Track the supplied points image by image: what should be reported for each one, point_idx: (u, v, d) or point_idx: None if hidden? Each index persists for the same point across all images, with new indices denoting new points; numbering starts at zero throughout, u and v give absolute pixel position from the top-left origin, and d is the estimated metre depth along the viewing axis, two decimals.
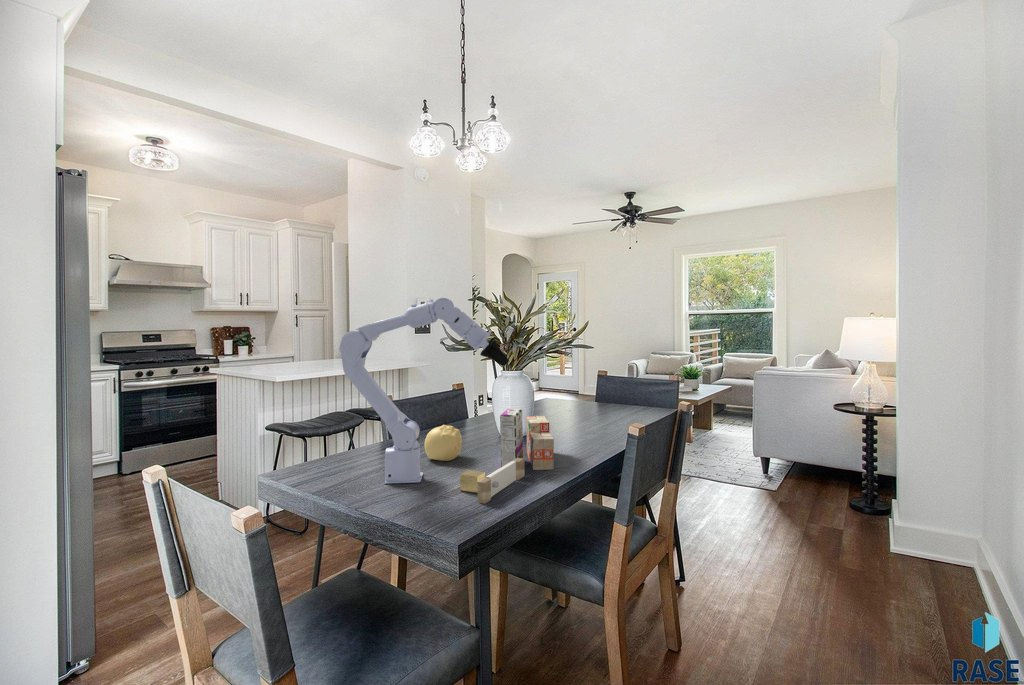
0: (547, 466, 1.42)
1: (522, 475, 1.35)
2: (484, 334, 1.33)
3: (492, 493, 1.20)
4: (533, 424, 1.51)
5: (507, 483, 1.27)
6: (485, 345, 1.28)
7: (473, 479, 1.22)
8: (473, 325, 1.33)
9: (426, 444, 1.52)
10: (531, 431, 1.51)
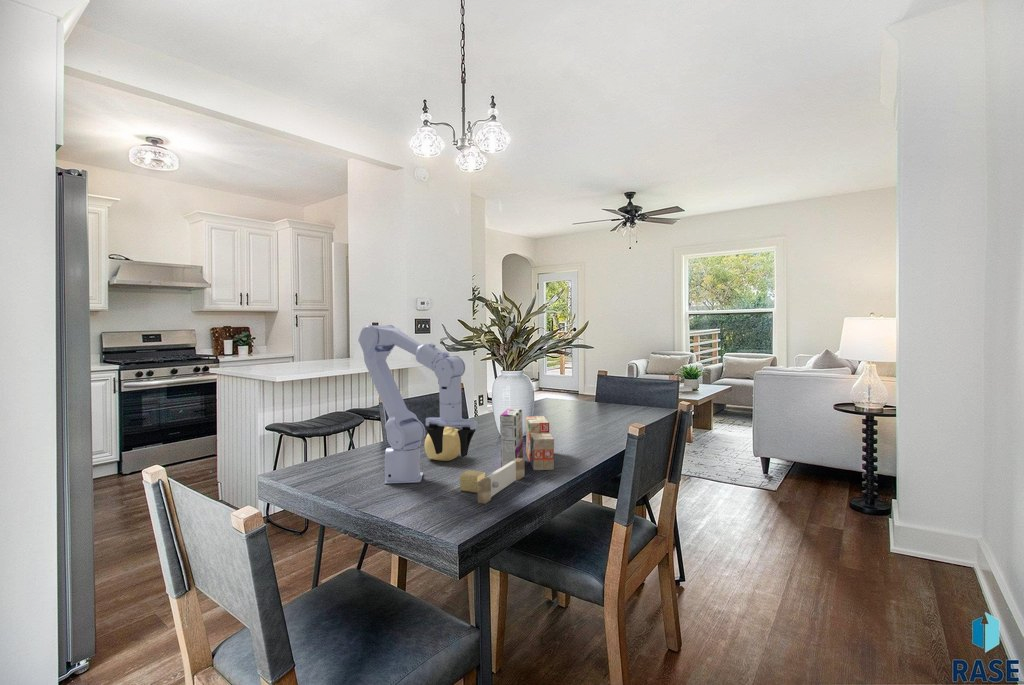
0: (547, 466, 1.42)
1: (522, 475, 1.35)
2: (440, 418, 1.26)
3: (492, 493, 1.20)
4: (533, 424, 1.50)
5: (507, 483, 1.27)
6: None
7: (473, 479, 1.22)
8: None
9: (426, 444, 1.52)
10: (531, 431, 1.50)
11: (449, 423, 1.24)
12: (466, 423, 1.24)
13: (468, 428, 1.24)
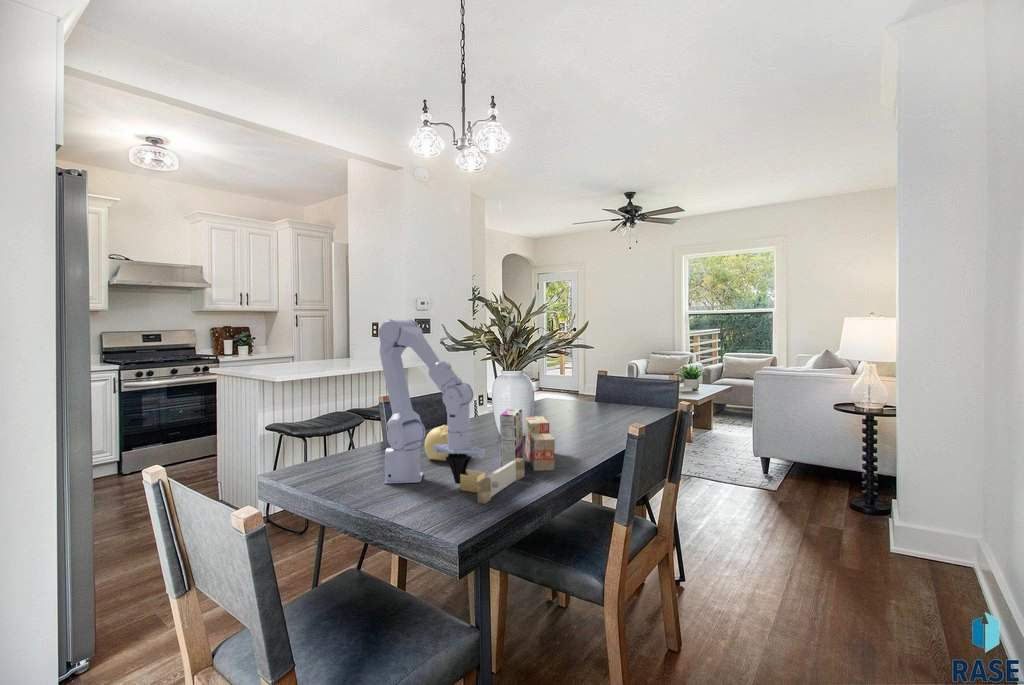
0: (548, 466, 1.42)
1: (522, 475, 1.35)
2: (448, 446, 1.25)
3: (492, 493, 1.20)
4: (533, 424, 1.50)
5: (507, 483, 1.27)
6: None
7: (473, 479, 1.22)
8: None
9: (426, 444, 1.52)
10: (531, 432, 1.50)
11: (457, 452, 1.23)
12: (474, 452, 1.23)
13: None
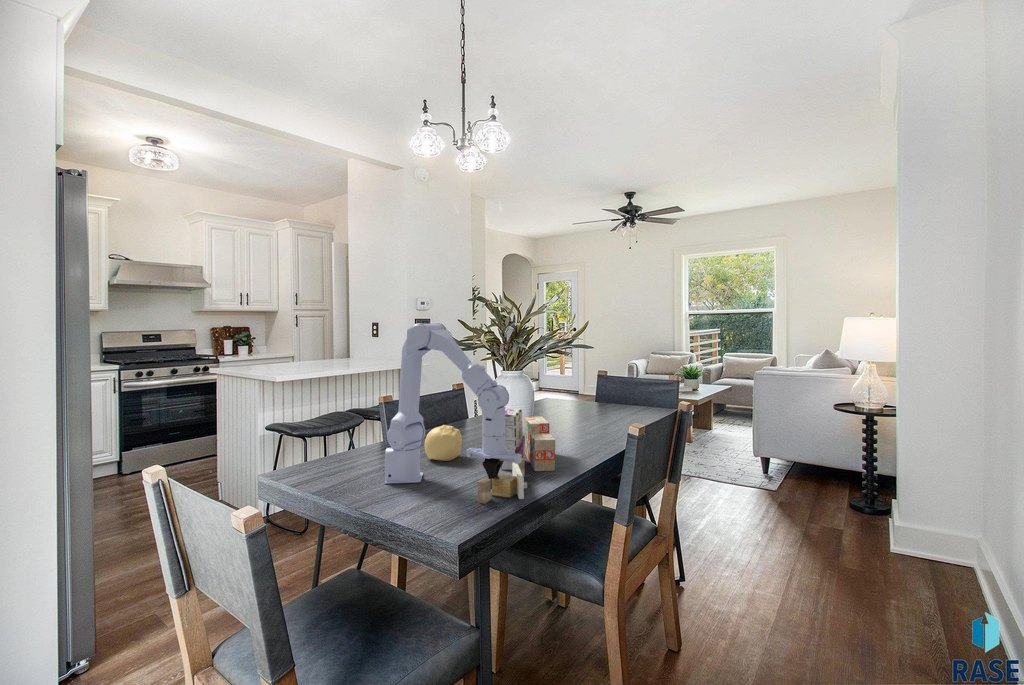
0: (549, 467, 1.41)
1: None
2: (482, 450, 1.21)
3: None
4: (533, 425, 1.49)
5: None
6: None
7: (506, 484, 1.19)
8: (482, 435, 1.21)
9: (426, 444, 1.52)
10: (531, 432, 1.49)
11: (493, 456, 1.19)
12: (510, 457, 1.19)
13: None
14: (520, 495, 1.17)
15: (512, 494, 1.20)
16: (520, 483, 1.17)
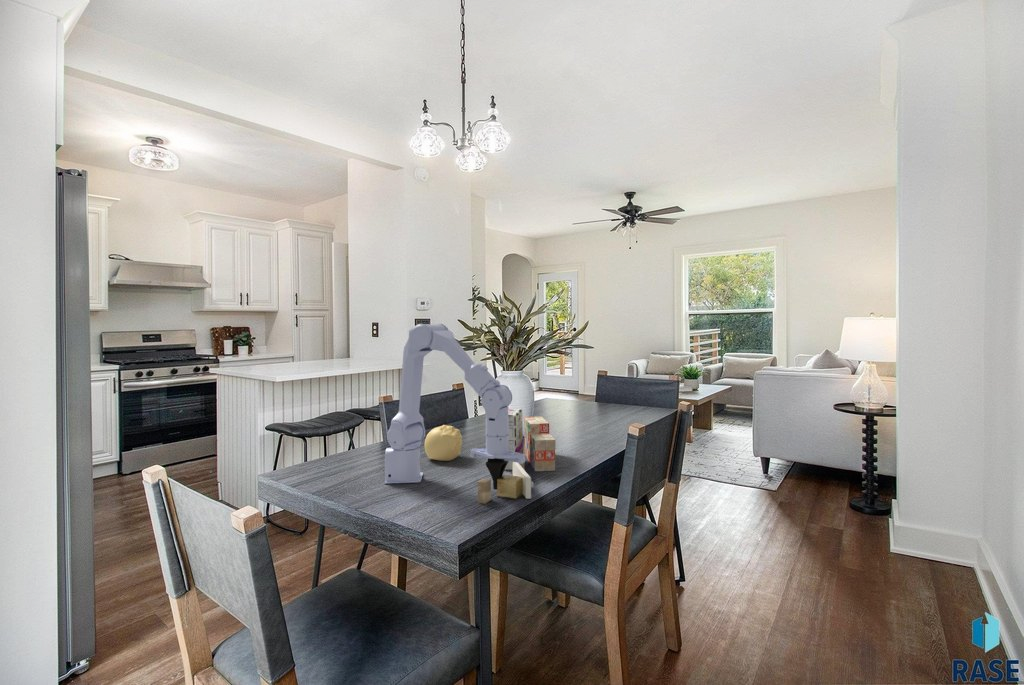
0: (549, 467, 1.41)
1: None
2: (486, 451, 1.21)
3: None
4: (533, 425, 1.49)
5: None
6: None
7: (511, 484, 1.18)
8: (486, 435, 1.21)
9: (426, 444, 1.52)
10: (531, 432, 1.49)
11: (496, 456, 1.19)
12: (514, 457, 1.18)
13: None
14: (527, 495, 1.18)
15: (518, 495, 1.19)
16: (527, 483, 1.17)
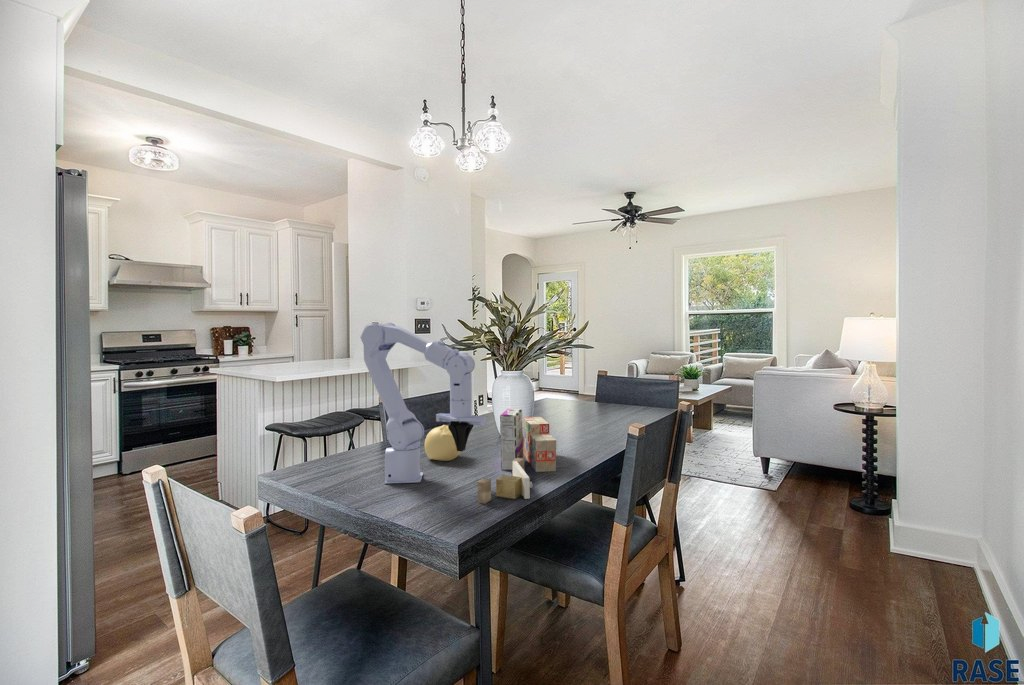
0: (550, 468, 1.40)
1: None
2: (450, 414, 1.28)
3: None
4: (533, 425, 1.49)
5: None
6: None
7: (511, 485, 1.18)
8: (450, 400, 1.28)
9: (426, 444, 1.52)
10: (531, 433, 1.48)
11: (459, 419, 1.26)
12: (476, 420, 1.26)
13: None
14: (526, 495, 1.17)
15: (517, 495, 1.19)
16: (526, 483, 1.17)
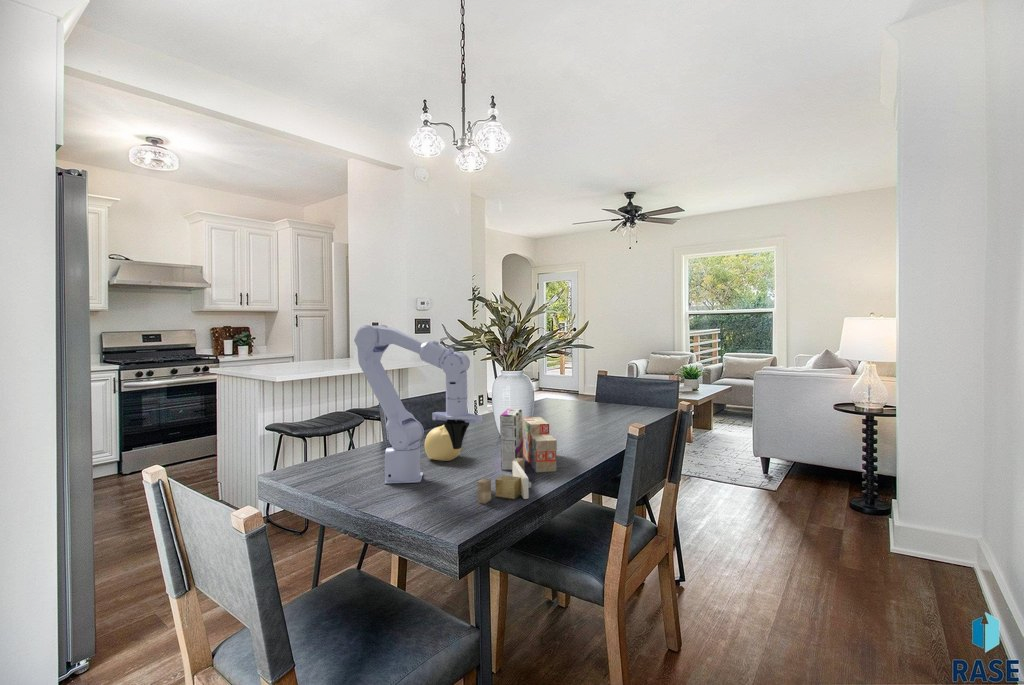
0: (550, 468, 1.40)
1: None
2: (446, 413, 1.29)
3: None
4: (533, 426, 1.48)
5: None
6: None
7: (510, 485, 1.18)
8: (446, 398, 1.29)
9: (426, 444, 1.52)
10: (531, 433, 1.48)
11: (455, 417, 1.27)
12: (472, 418, 1.27)
13: (473, 422, 1.27)
14: (525, 495, 1.17)
15: (516, 495, 1.19)
16: (525, 483, 1.17)
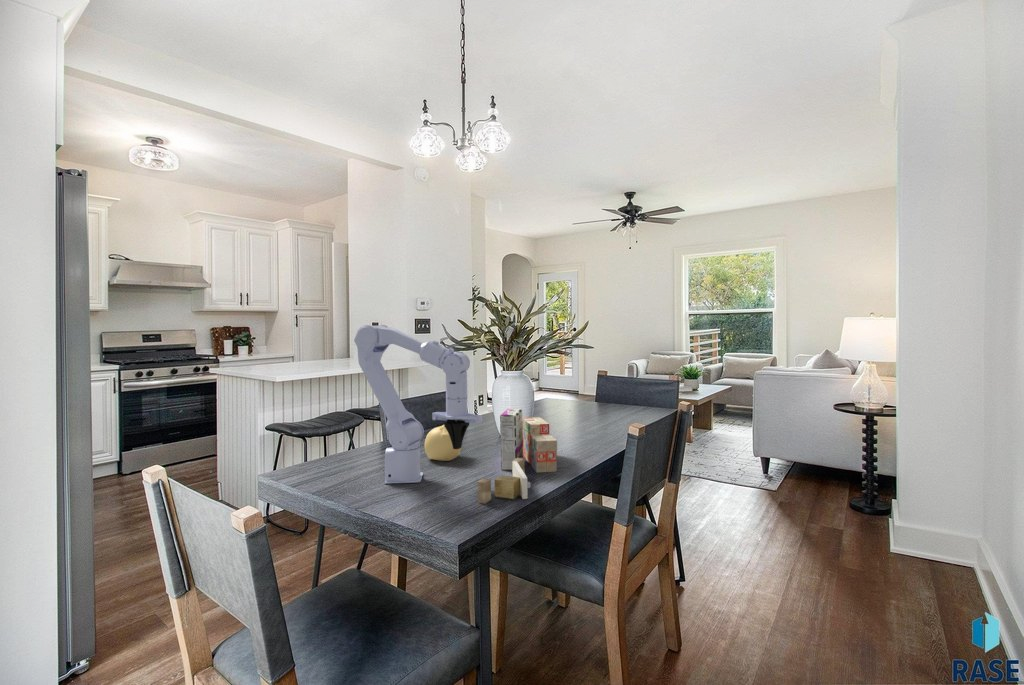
0: (550, 468, 1.40)
1: None
2: (446, 413, 1.29)
3: None
4: (533, 426, 1.48)
5: None
6: None
7: (509, 485, 1.18)
8: (446, 398, 1.29)
9: (426, 444, 1.52)
10: (531, 433, 1.48)
11: (455, 417, 1.27)
12: (472, 418, 1.27)
13: (473, 422, 1.27)
14: (524, 495, 1.17)
15: (515, 495, 1.19)
16: (524, 483, 1.17)
